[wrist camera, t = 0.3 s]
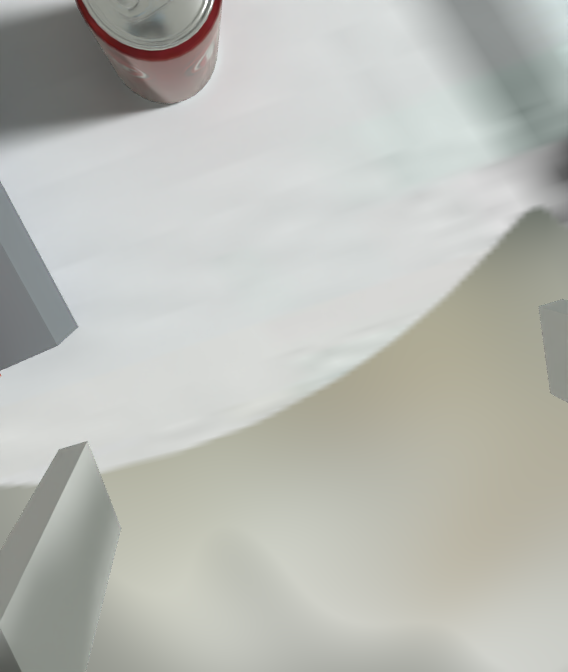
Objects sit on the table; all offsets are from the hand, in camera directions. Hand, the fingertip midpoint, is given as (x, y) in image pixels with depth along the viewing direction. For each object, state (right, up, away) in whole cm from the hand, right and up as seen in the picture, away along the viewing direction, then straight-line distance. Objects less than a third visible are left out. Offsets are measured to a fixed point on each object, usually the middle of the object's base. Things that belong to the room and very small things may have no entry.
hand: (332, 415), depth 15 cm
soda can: (-10, +22, +22) cm, 33 cm away
